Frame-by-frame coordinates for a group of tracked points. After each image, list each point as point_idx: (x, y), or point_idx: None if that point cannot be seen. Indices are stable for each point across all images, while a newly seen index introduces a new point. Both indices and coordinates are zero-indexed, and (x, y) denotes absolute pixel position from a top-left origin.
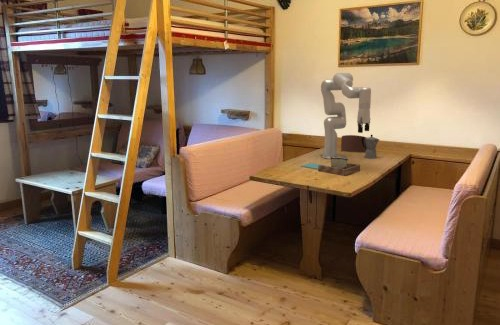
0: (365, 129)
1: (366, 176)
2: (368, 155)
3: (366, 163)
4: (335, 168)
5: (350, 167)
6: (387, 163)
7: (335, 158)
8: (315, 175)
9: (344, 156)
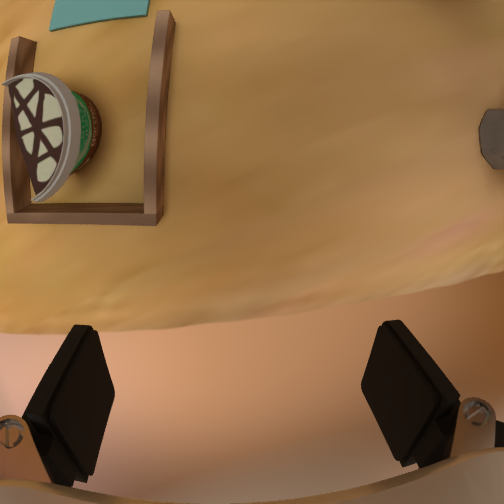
0: (386, 356)
1: (82, 294)
2: (491, 134)
3: (376, 162)
4: (3, 154)
5: (58, 212)
6: (420, 258)
7: (14, 115)
8: None
9: (63, 145)
